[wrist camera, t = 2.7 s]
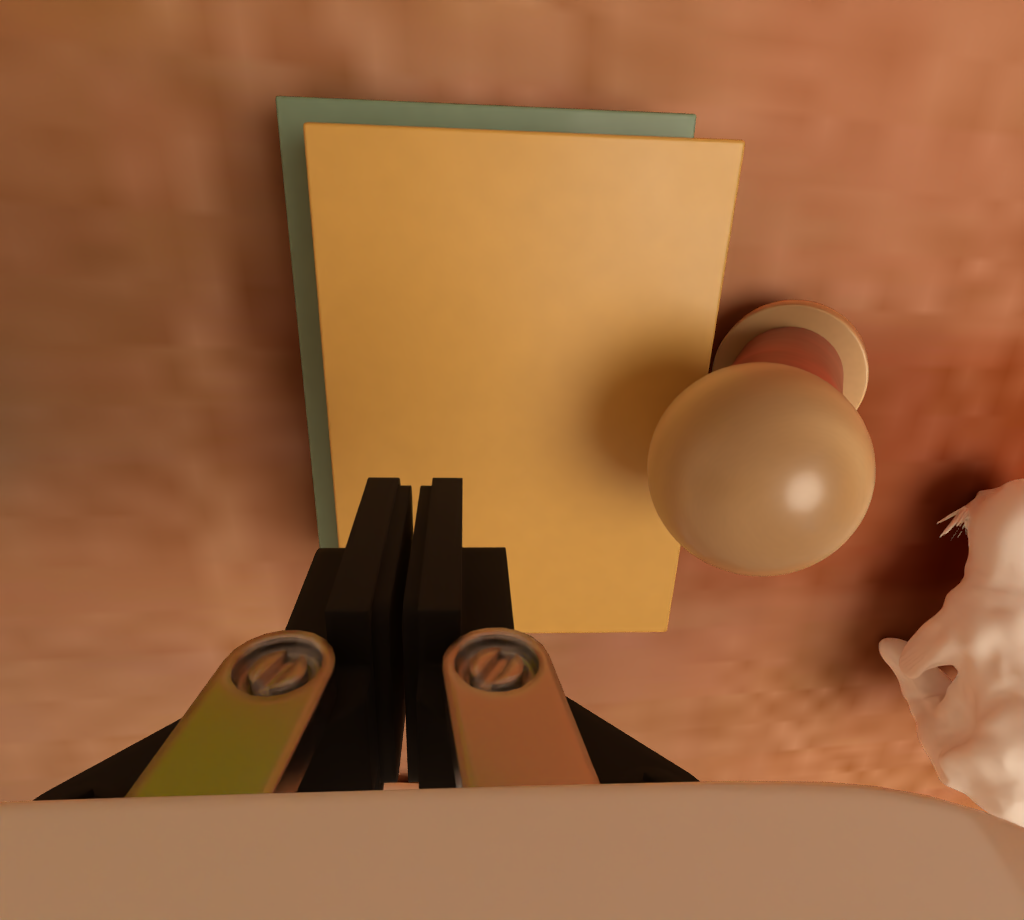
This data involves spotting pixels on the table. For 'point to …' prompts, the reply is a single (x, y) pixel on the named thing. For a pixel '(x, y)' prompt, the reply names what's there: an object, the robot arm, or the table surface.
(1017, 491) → the white figurine
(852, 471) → the doll
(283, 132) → the books
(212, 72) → the table surface
